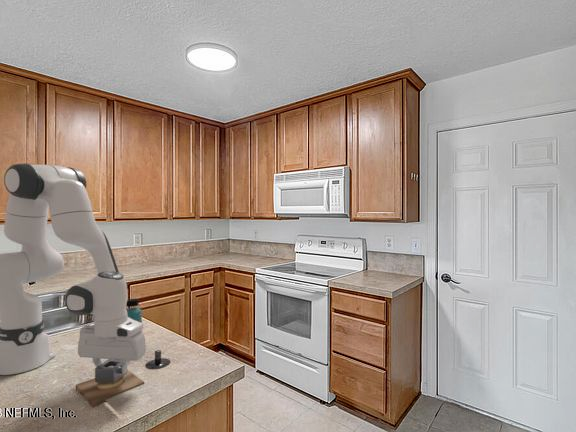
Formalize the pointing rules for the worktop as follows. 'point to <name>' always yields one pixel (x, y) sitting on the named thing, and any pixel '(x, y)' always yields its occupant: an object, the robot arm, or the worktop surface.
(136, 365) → the worktop surface
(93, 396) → the brown square board
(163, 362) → the stand
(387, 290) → the worktop surface
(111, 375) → the square metal tube
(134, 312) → the beverage bottle
